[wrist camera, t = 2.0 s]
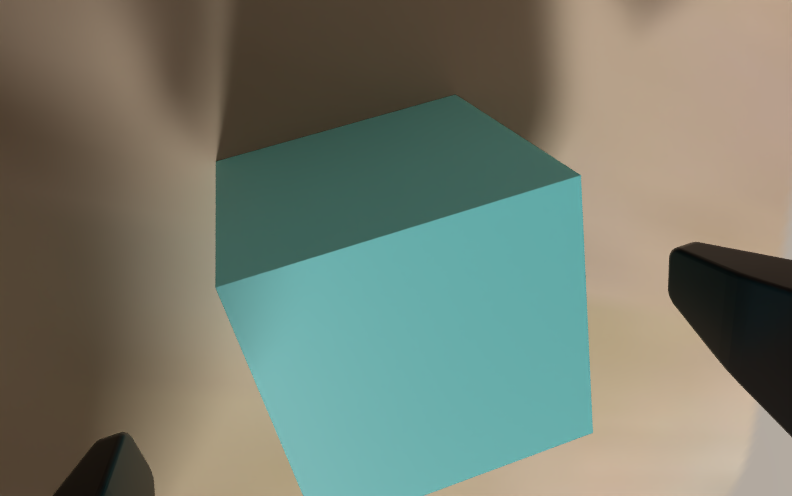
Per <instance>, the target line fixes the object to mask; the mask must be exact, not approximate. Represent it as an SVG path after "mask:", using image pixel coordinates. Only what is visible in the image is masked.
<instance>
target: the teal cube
mask: <svg viewBox="0 0 792 496" xmlns="http://www.w3.org/2000/svg"><path fill="white" fill-rule="evenodd" d="M215 288H216V290H217V292H218V295H219V297H220V299H221V302H222V304H223V307H224V309H225V311H226V314H227V316H228V318H229V321H230V323H231V326H232V328H233V330H234V333H235V335H236V337H237V340H238V342H239V345H240V347H241V349H242V352H243V354H244V356H245V359H246V361H247V364H248V366H249V368H250V371H251V373H252V375H253V378H254V380H255V383H256V385H257V387H258V390H259V392H260V394H261V397H262V399H263V402H264V404H265V406H266V409H267V411H268V413H269V416H270V418H271V420H272V423H273V425H274V428H275V430H276V432H277V435H278V437H279V439H280V442H281V444H282V447H283V449H284V451H285V454H286V456H287V458H288V461H289V463H290V466H291V468H292V470H293V473H294V475H295V477H296V480H297V482H298V485H299V487H300V489H301V492H302V494H303V496H424V495H427V494H429V493H432V492H435V491H437V490H440V489H443V488H445V487H448V486H451V485H453V484H456V483H459V482H462V481H464V480H467V479H470V478H472V477H475V476H478V475H480V474H483V473H486V472H489V471H491V470H494V469H497V468H499V467H502V466H505V465H507V464H510V463H513V462H515V461H518V460H521V459H524V458H526V457H529V456H532V455H534V454H537V453H540V452H542V451H545V450H548V449H550V448H553V447H556V446H559V445H561V444H564V443H567V442H569V441H572V440H575V439H577V438H580V437H583V436H586V435H588V434H591V433H593V426H592V405H591V384H590V362H589V341H588V319H587V298H586V276H585V255H584V234H583V212H582V191H581V175H579V174H578V173H576V172H575V171H573V170H572V169H570V168H569V167H567V166H566V165H564V164H562V163H561V162H559V161H558V160H556V159H555V158H553V157H552V156H550V155H549V154H547V153H545V152H544V151H542V150H541V149H539V148H538V147H536V146H535V145H533V144H531V143H530V142H528V141H527V140H525V139H524V138H522V137H521V136H519V135H518V134H516V133H514V132H513V131H511V130H510V129H508V128H507V127H505V126H504V125H502V124H501V123H499V122H497V121H496V120H494V119H493V118H491V117H490V116H488V115H487V114H485V113H483V112H482V111H480V110H479V109H477V108H476V107H474V106H473V105H471V104H470V103H468V102H466V101H465V100H463V99H462V98H460V97H459V96H457V95H456V94H455V95H452V96H448V97H445V98H441V99H438V100H434V101H430V102H427V103H423V104H420V105H416V106H413V107H409V108H405V109H402V110H398V111H395V112H391V113H388V114H384V115H380V116H377V117H373V118H370V119H366V120H362V121H359V122H355V123H352V124H348V125H345V126H341V127H337V128H334V129H330V130H327V131H323V132H320V133H316V134H312V135H309V136H305V137H302V138H298V139H295V140H291V141H287V142H284V143H280V144H277V145H273V146H269V147H266V148H262V149H259V150H255V151H252V152H248V153H244V154H241V155H237V156H234V157H230V158H227V159H223V160H219V161H216V285H215Z"/></svg>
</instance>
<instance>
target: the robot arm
mask: <svg viewBox="0 0 792 496" xmlns="http://www.w3.org/2000/svg"><path fill="white" fill-rule="evenodd" d="M668 292H669V296H670V298H671V300H672V302H673V304H674V305H675V306H676V308H677V309H678V310H679V311H680V313H681V314H682V315H683V316H684V318H685V319H686V320H687V321H688V323H689V324H690V325H691V326H692V328H693V329H694V330H695V331H696V333H697V334H698V335H699V336H700V338H701V339H702V340H703V342H704V343H705V344H706V345H707V347H708V348H709V349H710V350H711V352H712V353H713V354H714V355H715V357H716V358H717V359H718V360H719V361H720V363H721V364H722V365H723V366H724V367H725V369H726V370H727V371H728V372H729V373H730V374H731V375H732V376H733V377H734V378H735V379H736V381H737V382H738V383H739V384H740V385H741V386H742V387H743V388H744V389H745V390H746V391H747V392H748V393H749V394H750V395H751V396H752V397H753V398H754V399H755V400H756V401H757V402H758V403H759V404H760V405H761V406H762V407H763V408H764V409H765V410H766V411H767V412H768V413H769V414H770V415H771V416H772V417H773V418H774V419H775V420H776V421H777V422H778V424H779V425H781V427H782V428H783V429H784V430H785V431H786V432H787V433H788V434H789V435H790V436H791V437H792V260H789V259H784V258H778V257H773V256H768V255H763V254H758V253H752V252H747V251H742V250H737V249H731V248H726V247H721V246H716V245H711V244H705V243H700V242H692V243H689V244H686V245H683V246H680V247H677V248H675V249H673V250H672V251H671V253H670V256H669V278H668ZM53 496H155V491H154V480H153V475H152V472H151V469H150V467H149V465H148V464H147V462H146V460H145V459H144V457H143V455H142V454H141V452H140V450H139V448H138V447H137V445H136V443H135V442H134V440H133V438H132V437H131V436H130V435H129V434H128V433H125V432H121V433H118V434H115V435H112V436H109V437H106V438H103V439H100V440H98V441H97V442H96V443H95V444H94V445H93V446H92V447H91V448H90V450H89V451H88V452H87V453H86V455H85V456H84V457H83V458H82V460H81V461H80V462H79V463H78V465H77V466H76V467H75V468H74V470H73V471H72V472H71V473H70V475H69V476H68V477H67V478H66V480H65V481H64V482H63V483H62V485H61V486H60V487H59V488H58V490H57V491H56V492H55V493H54V495H53Z"/></svg>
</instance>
